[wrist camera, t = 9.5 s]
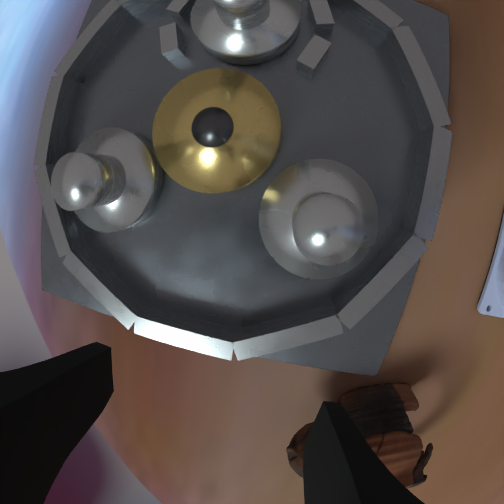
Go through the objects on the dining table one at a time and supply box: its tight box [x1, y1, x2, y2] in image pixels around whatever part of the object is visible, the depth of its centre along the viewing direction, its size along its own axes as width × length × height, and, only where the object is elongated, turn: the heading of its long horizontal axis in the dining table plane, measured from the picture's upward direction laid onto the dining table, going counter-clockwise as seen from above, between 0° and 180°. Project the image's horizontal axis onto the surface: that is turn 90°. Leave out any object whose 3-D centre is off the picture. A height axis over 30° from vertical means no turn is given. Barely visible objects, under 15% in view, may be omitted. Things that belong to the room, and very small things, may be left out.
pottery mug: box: [286, 383, 433, 488], centre depth 18 cm, size 12×10×8 cm
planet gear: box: [190, 0, 301, 65], centre depth 12 cm, size 6×6×5 cm
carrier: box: [34, 0, 452, 376], centre depth 14 cm, size 25×25×6 cm
